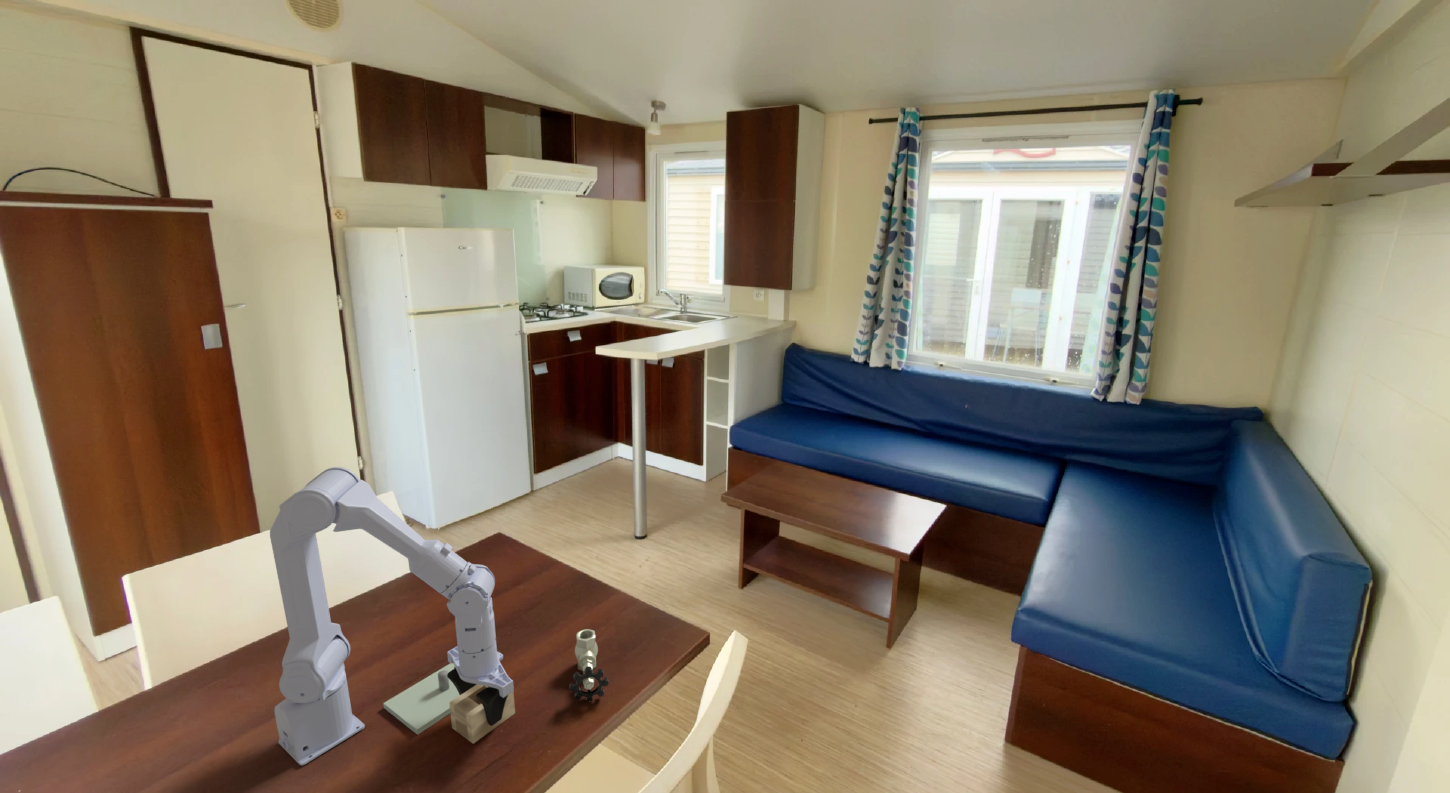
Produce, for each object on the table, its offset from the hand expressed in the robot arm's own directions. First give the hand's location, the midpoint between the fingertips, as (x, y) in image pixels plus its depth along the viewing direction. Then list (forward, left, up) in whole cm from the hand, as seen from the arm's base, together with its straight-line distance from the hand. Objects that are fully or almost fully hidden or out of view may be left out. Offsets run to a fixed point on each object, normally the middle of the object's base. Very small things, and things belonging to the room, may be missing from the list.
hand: (483, 713), depth 104 cm
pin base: (0, +11, -1) cm, 11 cm away
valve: (+17, -7, -2) cm, 18 cm away
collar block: (0, 0, -1) cm, 1 cm away
